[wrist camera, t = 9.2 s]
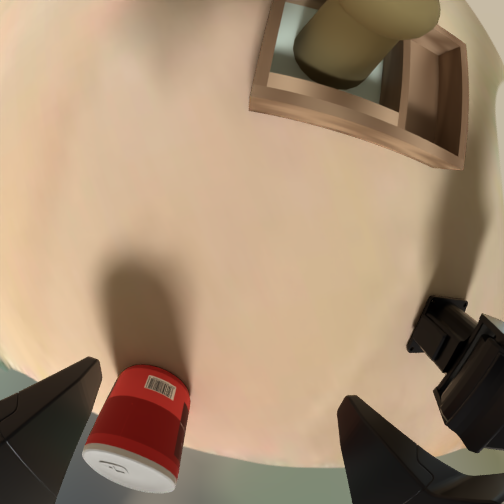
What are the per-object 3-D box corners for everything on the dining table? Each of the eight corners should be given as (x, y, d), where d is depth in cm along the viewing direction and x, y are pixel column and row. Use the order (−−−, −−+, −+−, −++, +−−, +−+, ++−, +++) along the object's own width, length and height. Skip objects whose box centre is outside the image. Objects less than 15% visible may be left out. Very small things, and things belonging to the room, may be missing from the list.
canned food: (107, 362, 24) (64, 441, 13) (177, 359, 23) (149, 457, 13) (136, 411, 26) (111, 486, 15) (200, 411, 26) (189, 497, 15)
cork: (292, 18, 14) (328, -77, 4) (366, 32, 15) (441, -33, 4) (293, 84, 16) (345, 1, 6) (371, 96, 16) (471, 53, 6)
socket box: (440, 55, 15) (465, 44, 12) (433, 167, 19) (463, 170, 15) (276, -10, 14) (282, -37, 10) (248, 110, 17) (250, 96, 14)
